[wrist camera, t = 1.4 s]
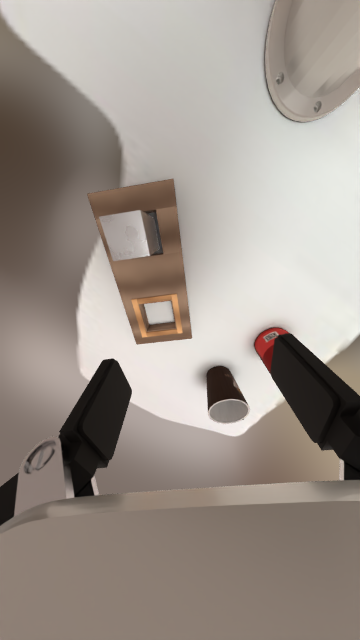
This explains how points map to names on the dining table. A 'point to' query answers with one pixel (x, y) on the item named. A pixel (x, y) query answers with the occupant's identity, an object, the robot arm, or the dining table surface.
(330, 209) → the dining table surface
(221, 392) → the coffee mug
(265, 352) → the canned food
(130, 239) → the metal block
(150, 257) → the socket board
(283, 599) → the robot arm
